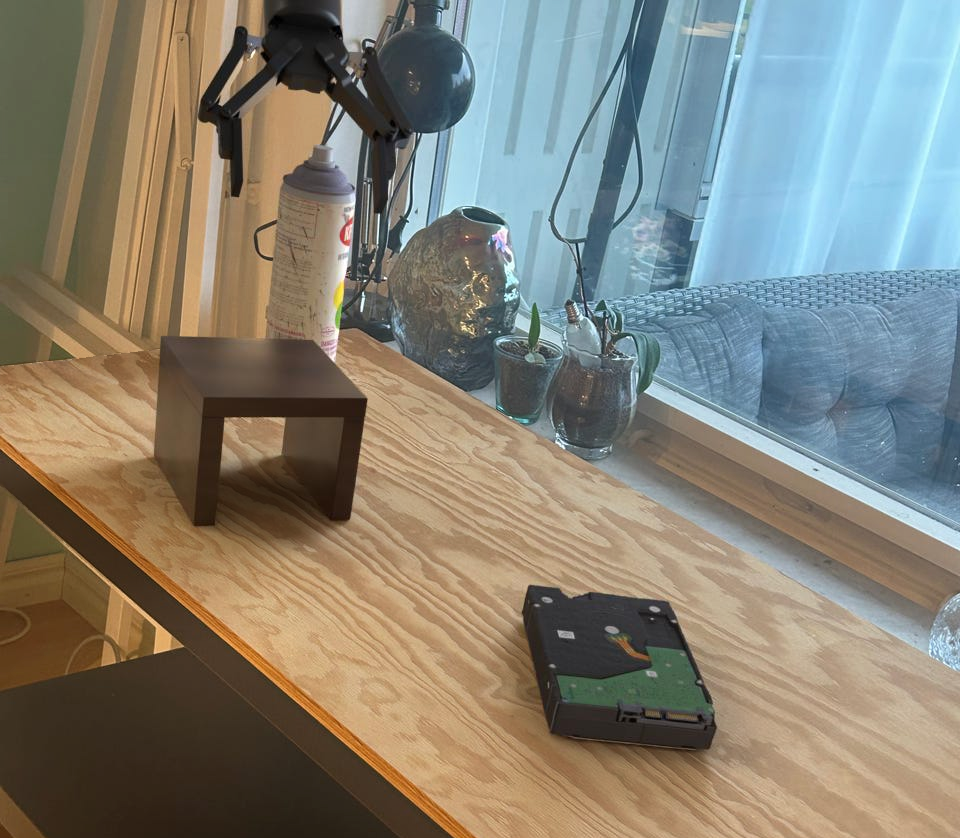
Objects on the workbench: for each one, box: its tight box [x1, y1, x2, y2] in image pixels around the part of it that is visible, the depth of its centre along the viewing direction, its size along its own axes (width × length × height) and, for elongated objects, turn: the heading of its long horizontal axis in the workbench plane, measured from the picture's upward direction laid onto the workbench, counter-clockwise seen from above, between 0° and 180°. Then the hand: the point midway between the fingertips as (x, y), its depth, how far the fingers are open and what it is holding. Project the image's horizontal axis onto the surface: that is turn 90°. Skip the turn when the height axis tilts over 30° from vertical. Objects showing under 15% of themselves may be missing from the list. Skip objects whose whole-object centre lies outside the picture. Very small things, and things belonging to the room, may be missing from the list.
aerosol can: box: [264, 144, 356, 364], centre depth 123 cm, size 7×7×20 cm
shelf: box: [153, 335, 369, 527], centre depth 99 cm, size 12×12×10 cm
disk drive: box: [521, 584, 718, 751], centre depth 86 cm, size 10×3×15 cm
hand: (310, 198), depth 124 cm, fingers open, 13 cm apart
